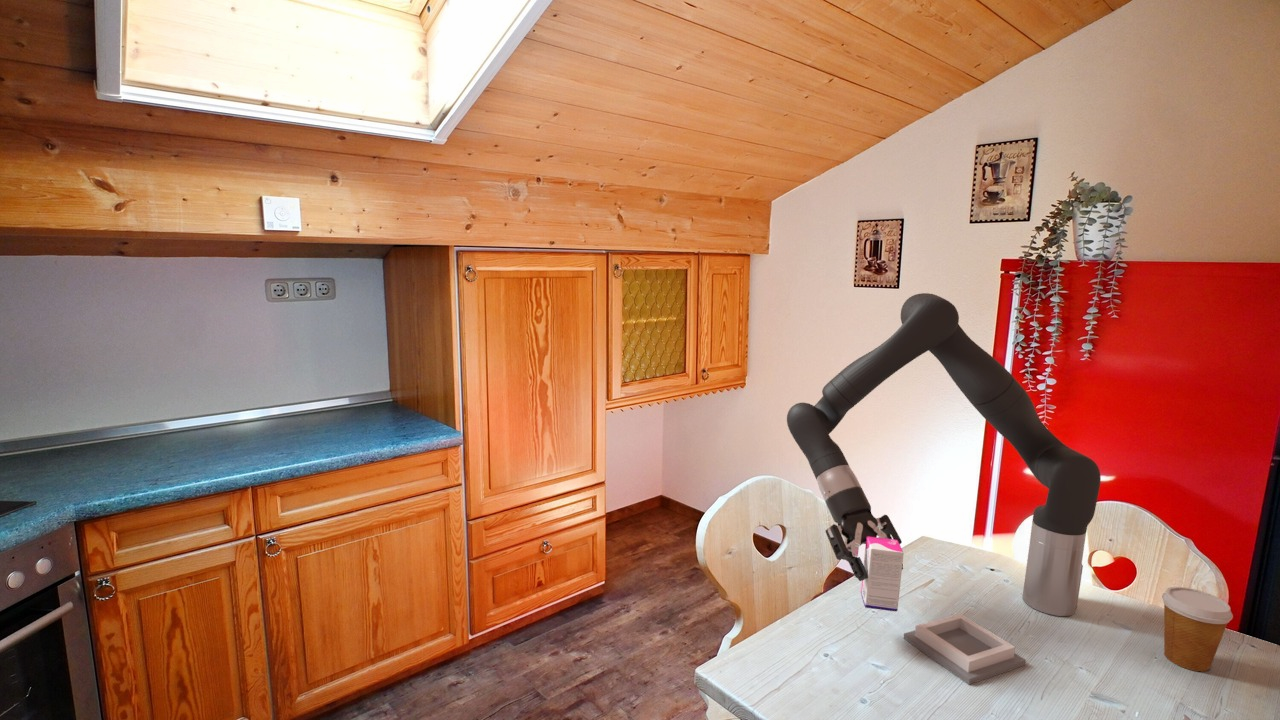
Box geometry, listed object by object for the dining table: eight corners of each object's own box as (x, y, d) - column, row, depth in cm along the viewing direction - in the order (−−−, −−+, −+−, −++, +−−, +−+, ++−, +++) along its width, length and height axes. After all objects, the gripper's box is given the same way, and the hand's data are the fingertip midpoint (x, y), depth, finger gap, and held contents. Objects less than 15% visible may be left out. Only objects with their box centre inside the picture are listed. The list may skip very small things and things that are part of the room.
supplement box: (898, 612, 114) (904, 552, 112) (864, 608, 115) (869, 548, 113) (893, 595, 120) (898, 538, 118) (860, 592, 121) (864, 535, 119)
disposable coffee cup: (1205, 651, 117) (1216, 591, 115) (1233, 683, 108) (1246, 618, 106) (1143, 640, 120) (1153, 581, 118) (1166, 670, 111) (1177, 607, 109)
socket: (957, 623, 124) (958, 608, 124) (1025, 665, 111) (1027, 649, 111) (903, 638, 119) (905, 623, 118) (968, 684, 106) (970, 668, 105)
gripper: (823, 490, 119) (863, 575, 111) (881, 480, 125) (923, 561, 116) (804, 506, 125) (840, 589, 116) (860, 497, 131) (899, 574, 122)
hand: (881, 575), depth 116 cm, fingers closed on supplement box, 8 cm apart
